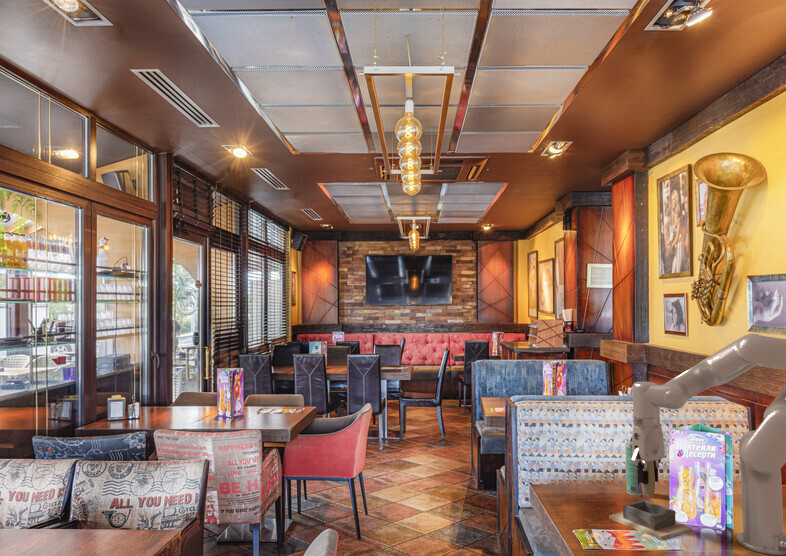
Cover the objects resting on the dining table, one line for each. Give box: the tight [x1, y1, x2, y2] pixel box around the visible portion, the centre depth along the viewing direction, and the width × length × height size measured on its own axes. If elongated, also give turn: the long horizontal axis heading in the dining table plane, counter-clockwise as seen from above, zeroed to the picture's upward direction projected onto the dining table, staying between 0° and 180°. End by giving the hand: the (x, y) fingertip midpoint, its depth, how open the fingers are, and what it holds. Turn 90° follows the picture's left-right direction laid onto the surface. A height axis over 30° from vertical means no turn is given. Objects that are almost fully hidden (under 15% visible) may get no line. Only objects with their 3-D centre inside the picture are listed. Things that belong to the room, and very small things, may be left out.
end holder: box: [608, 499, 692, 541], centre depth 165 cm, size 18×14×5 cm
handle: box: [641, 449, 658, 499], centre depth 166 cm, size 5×6×15 cm
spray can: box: [625, 436, 643, 497], centre depth 194 cm, size 6×6×20 cm
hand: (648, 481), depth 166 cm, fingers closed on handle, 4 cm apart
